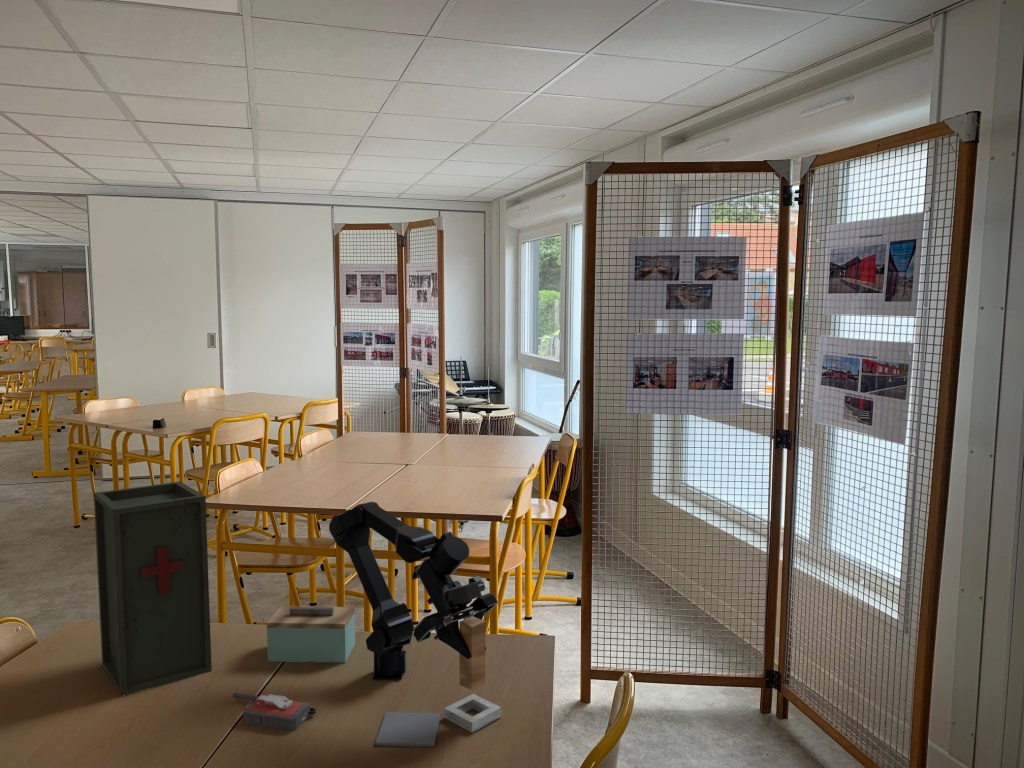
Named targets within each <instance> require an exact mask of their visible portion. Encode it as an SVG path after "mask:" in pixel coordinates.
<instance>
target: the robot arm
mask: <svg viewBox="0 0 1024 768" xmlns="http://www.w3.org/2000/svg"><path fill="white" fill-rule="evenodd" d="M328 530H329V533H330V535H331V536H332V538H333V540H334V542H335V543H336V545H337V547H339V548H341V549H342V550H343V551H345V552H346V553H347V554H348V555H349V557H350V560H351V562H352V564H353V567H354V570H355V572H356V574H357V576H358V578H359V581H360V583H361V586H362V588H363V590H364V592H365V595H366V597H367V600H368V602H369V604H370V606H371V609H372V616H371V617H372V618H371V624H370V625H371V628H372V632H371V634H369V636H368V637H367V638H366V639H365V643H366V648H367V651H370V652H372V653H373V674H372V675H371V679H372V680H384V681H385V680H391V681H392V680H397V681H398V680H399V681H400V680H402V679H403V675H404V674H405V673H406V671H407V668H408V667H407V665H408V663H407V661H408V660H407V657H408V656H407V653H408V652H407V650H405V646H407V645H410V644H411V641H412V638H413V636H414V639H416V642H417V643H421V642H423V641H425V640H428V639H430V637H431V635H432V631H435V634H436V635H435V636H434V637H433V638H434V640H435V641H437V640H439V641H440V642H442V643H444V644H446V645H447V646H449V647H450V648H452V649H453V650H455V651H456V652H457V653H459V655H460V654H461V655H463V656H464V657H466V658H467V659H470V658H471V657H472V655H471V653H470V650H469V648H468V646H467V644H466V643H465V641H464V639H463V637H462V635H461V633H460V625H459V621H462V620H464V619H467V618H470V617H472V616H473V617H476V618H478V619H481V620H483V619H484V617H485V616H487V614H489V612H491V610H492V609H493V608H495V607H496V606H497V605H498V604H499V602H498V600H497V598H496V596H495V595H494V594H493V593H491V592H487V593H485V594H482V592H484V591H485V590H486V586H485V582H484V580H483V579H482V578H481V576H480V575H476V576H474V577H471V578H468V583H467V584H464V585H462V584H461V582H460V581H459V580H455V581H454V580H453V578H452V576H451V575H453V574H454V573H455V572H456V571H457V570H458V569H459V567H460V566H461V565H462V564H463V563H464V562H465V561H466V560H467V559H468V558H469V556H470V548H469V544H467V542H465V541H464V539H462V538H460V537H458V536H455V535H453V533H452V532H451V531H448V532H445V533H442V535H440V537H437V536H436V535H435V534H434V533H433V532H432V531H430V530H428V529H426V528H423V527H419V526H414V525H411V526H410V525H408V524H406V523H405V522H403V521H402V520H401V519H398V518H397V517H396V516H394V515H393V514H391V513H389V512H388V511H387V510H385V509H384V508H382V507H380V505H379V504H378V503H377V502H375V501H369V502H364V503H359V504H357V505H355V506H354V507H353V508H351V509H349V510H347V511H345V512H343V513H340V514H336V515H334V516H333V517H332V518H331V520H330V522H329V524H328ZM371 530H373V531H374V532H375V533H377V534H379V535H380V536H382V537H383V538H385V539H386V540H387V541H388V542H389V543H391V544H392V545H394V549H395V553H396V554H397V555H398V556H399V557H400V558H401V559H402V560H403V561H404V562H405V563H407V564H413V563H416V562H419V561H422V560H423V561H422V562H421V563H420V564H417V565H414V567H413V572H412V575H411V576H412V577H411V579H412V580H415V581H416V580H418V579H420V582H421V583H422V585H423V588H424V590H425V591H426V593H427V594H428V597H429V598H428V599H427V600H426V602H427V604H428V605H433V606H434V608H435V610H436V612H434V613H432V614H428V615H425V616H424V617H422V619H421V620H420V621H419V622H418V623H417V624H416V625H414V620H413V617H412V615H411V614H410V612H409V609H408V605H407V604H406V603H404V602H402V603H398V602H397V601H395V599H394V598H393V596H392V594H391V591H390V588H389V587H388V584H387V582H386V579H385V578H384V575H383V573H382V571H381V568H380V566H379V563H378V562H377V560H376V557H375V555H374V553H373V550H372V548H371V546H370V543H369V542H370V535H371ZM486 651H487V647H486V645H485V652H486Z"/></svg>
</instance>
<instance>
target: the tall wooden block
mask: <svg viewBox="0 0 1024 768" xmlns="http://www.w3.org/2000/svg"><path fill="white" fill-rule="evenodd" d="M458 622H459V631H460V633H461V635H462V637H463V639H464V641H465V643H466V644H467V646H468V648H469V650H470V653H471V655H472V657H471V658H470V659H467V658H466V657H464V656H463V655H461V654H460V653H459V685H460V686H462V687H464V688H466V689H468V690H469V691H472V692H473V691H475V690H476V689H478V688H481V687H483V686H485V685H486V651H485V646H486V621H485V620H483V619H482V620H481V619H478V618H476V617H473V616H472V617H470V618H467V619H461V620H458Z"/></svg>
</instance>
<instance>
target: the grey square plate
mask: <svg viewBox="0 0 1024 768" xmlns="http://www.w3.org/2000/svg"><path fill="white" fill-rule="evenodd" d="M440 720H441V712H396V711H395V712H393V711H389V712H387V711H386V712H385V714H384V716H383V719H382V723H381V725H380V728H379V731H378V733H377V736H376V739H375V743H374V745H375V746H379V747H380V746H386V747H389V746H390V747H435V742H436V739H437V734H438V729H439V725H440Z"/></svg>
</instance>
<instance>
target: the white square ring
mask: <svg viewBox="0 0 1024 768" xmlns="http://www.w3.org/2000/svg"><path fill="white" fill-rule="evenodd" d="M443 710H444V713H443V714H444V716H443V717H444V719H446V720H448V721H450V722H452V723H454V724H455V725H457V726H459V727H461V728H463V729H465V730H466V731H468V732H470V733H472V734H473V733H475V732H477V731H478V730H481V729H482V728H484V727H486V726H487V725H489V724H491V723H493V722H494V721H496V720H499V719H500V718H502V707H501V706H499V705H497V704H496V703H493V702H490V701H489V700H487V699H485V698H482V697H481V696H479V695H477V694H475V693H472V694H470V695H468V696H466V697H463V698H462V699H460V700H457V701H456V702H454V703H452V704H449V705H448V706H446V707H444V709H443ZM471 710H475V711H477V712H478V713H477V714H475V715H473V716H472V715H470V714H468V713H467V712H469V711H471Z"/></svg>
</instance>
